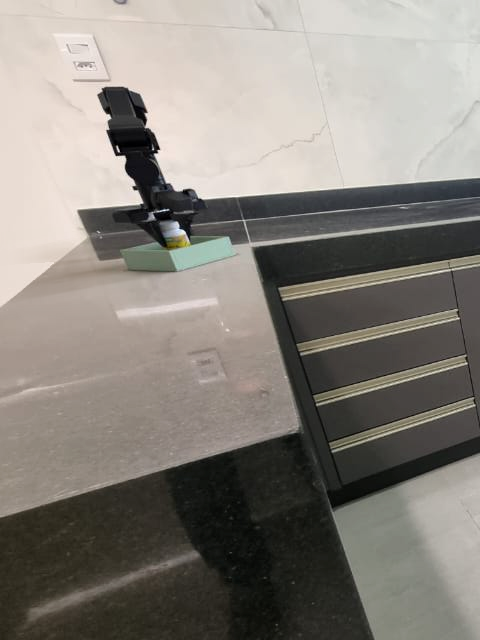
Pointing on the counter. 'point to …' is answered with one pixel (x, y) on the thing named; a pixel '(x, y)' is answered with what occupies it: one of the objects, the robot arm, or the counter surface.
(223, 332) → the counter surface
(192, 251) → the bin
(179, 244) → the supplement bottle
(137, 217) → the robot arm
